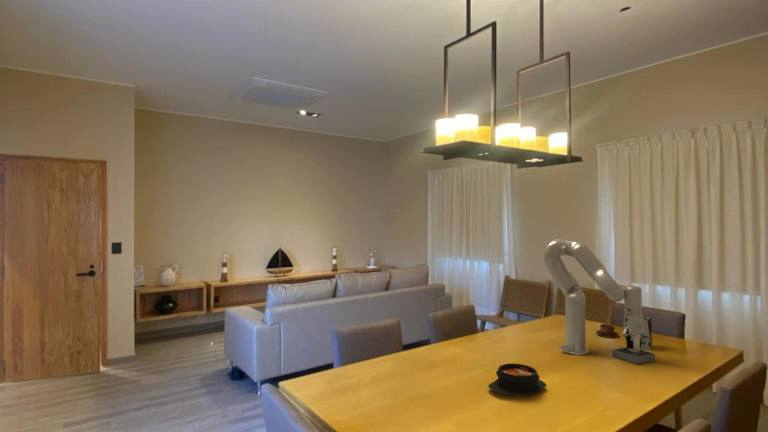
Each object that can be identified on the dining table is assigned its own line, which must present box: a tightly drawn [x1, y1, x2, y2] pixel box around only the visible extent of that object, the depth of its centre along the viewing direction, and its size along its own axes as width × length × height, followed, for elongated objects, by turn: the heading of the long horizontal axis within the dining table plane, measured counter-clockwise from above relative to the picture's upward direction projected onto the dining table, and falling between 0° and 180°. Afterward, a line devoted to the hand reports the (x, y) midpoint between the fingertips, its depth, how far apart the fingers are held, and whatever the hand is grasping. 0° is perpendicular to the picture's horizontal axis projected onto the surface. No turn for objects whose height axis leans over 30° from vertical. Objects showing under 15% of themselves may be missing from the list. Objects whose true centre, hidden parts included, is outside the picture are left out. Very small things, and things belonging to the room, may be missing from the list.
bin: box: [611, 346, 656, 366], centre depth 208 cm, size 13×13×4 cm
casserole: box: [488, 363, 547, 397], centre depth 171 cm, size 25×19×8 cm
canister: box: [628, 333, 641, 353], centre depth 208 cm, size 5×5×9 cm
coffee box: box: [640, 315, 653, 351], centre depth 227 cm, size 9×6×16 cm
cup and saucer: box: [595, 323, 619, 338], centre depth 250 cm, size 12×12×6 cm
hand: (633, 347), depth 208 cm, fingers closed on canister, 5 cm apart
